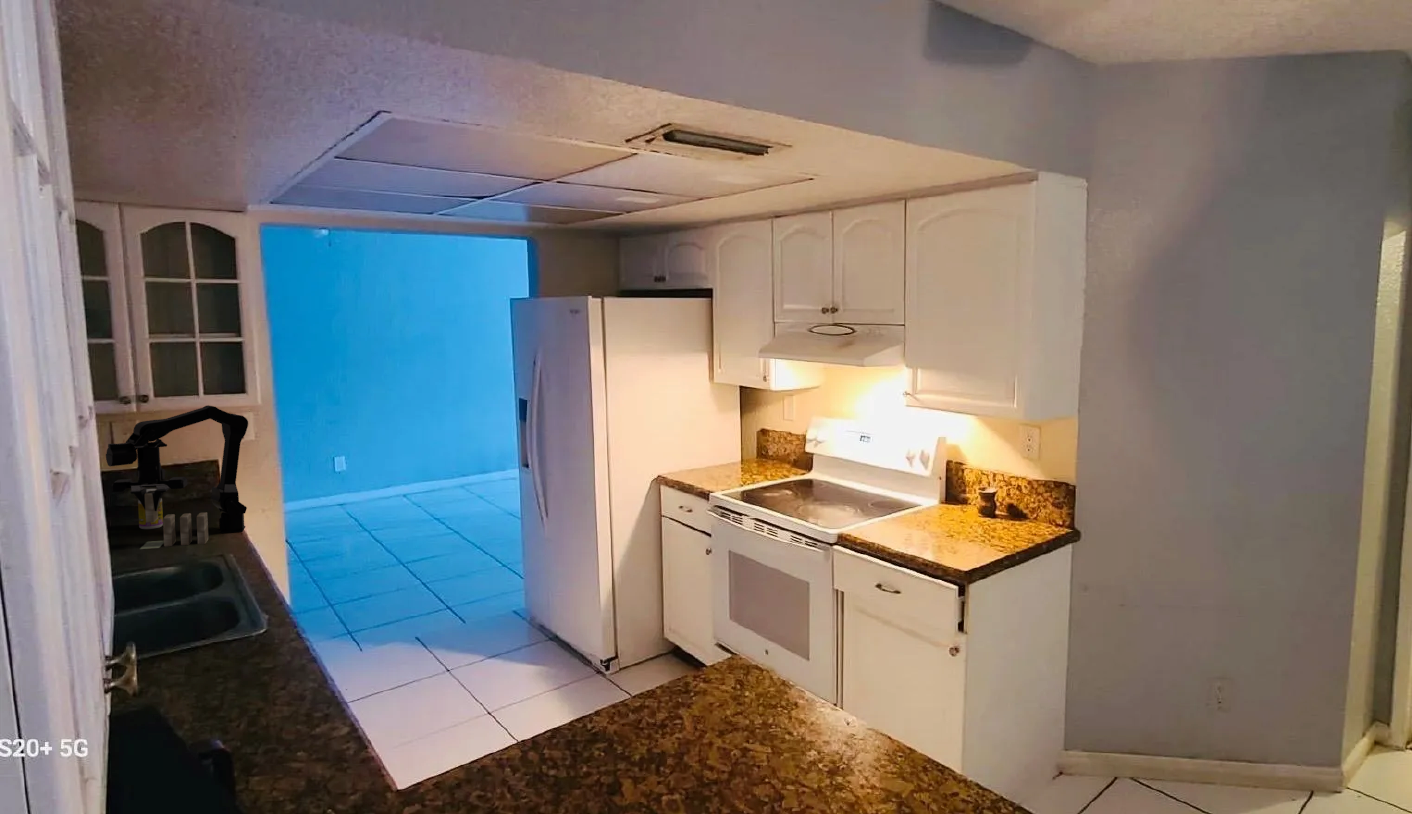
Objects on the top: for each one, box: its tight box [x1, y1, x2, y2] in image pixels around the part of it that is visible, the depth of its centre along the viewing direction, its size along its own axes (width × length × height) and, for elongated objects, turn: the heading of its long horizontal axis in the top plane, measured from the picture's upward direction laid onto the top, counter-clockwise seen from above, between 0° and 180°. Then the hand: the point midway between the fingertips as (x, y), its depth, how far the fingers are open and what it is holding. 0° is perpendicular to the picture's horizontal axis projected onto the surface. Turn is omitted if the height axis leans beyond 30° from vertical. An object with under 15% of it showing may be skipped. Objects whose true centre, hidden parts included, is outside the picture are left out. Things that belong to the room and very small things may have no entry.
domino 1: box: [162, 513, 177, 547], centre depth 248 cm, size 2×5×9 cm, turn 22°
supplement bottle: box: [137, 488, 164, 530], centre depth 266 cm, size 7×7×13 cm
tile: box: [145, 491, 158, 523], centre depth 245 cm, size 2×5×9 cm, turn 22°
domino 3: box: [196, 512, 209, 545], centre depth 251 cm, size 2×5×9 cm, turn 22°
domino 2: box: [179, 512, 193, 546], centre depth 250 cm, size 2×5×9 cm, turn 22°
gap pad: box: [139, 540, 164, 550], centre depth 247 cm, size 5×8×1 cm, turn 22°
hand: (151, 511), depth 245 cm, fingers closed on tile, 2 cm apart
